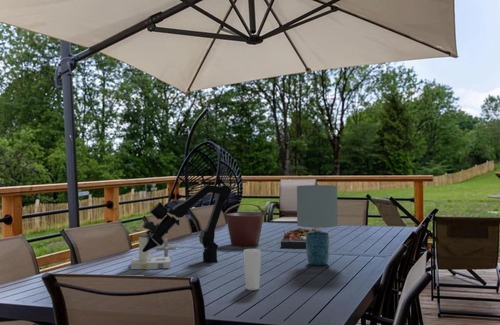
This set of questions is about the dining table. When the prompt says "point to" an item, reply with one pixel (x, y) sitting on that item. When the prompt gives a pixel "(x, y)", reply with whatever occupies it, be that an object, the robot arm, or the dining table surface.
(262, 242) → the dining table surface
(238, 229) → the bucket
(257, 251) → the drinking glass
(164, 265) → the socket panel
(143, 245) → the plug
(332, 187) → the lamp
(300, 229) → the food platter
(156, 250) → the pipe connector
